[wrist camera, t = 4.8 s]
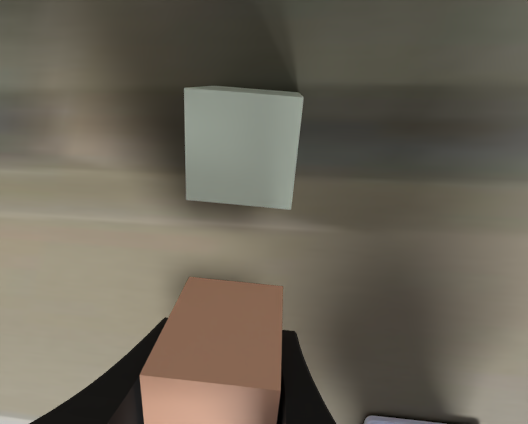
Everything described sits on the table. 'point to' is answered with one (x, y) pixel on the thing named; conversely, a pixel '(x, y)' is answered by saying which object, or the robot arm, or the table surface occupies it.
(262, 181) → the sage block
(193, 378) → the terracotta block
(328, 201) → the table surface
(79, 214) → the table surface
